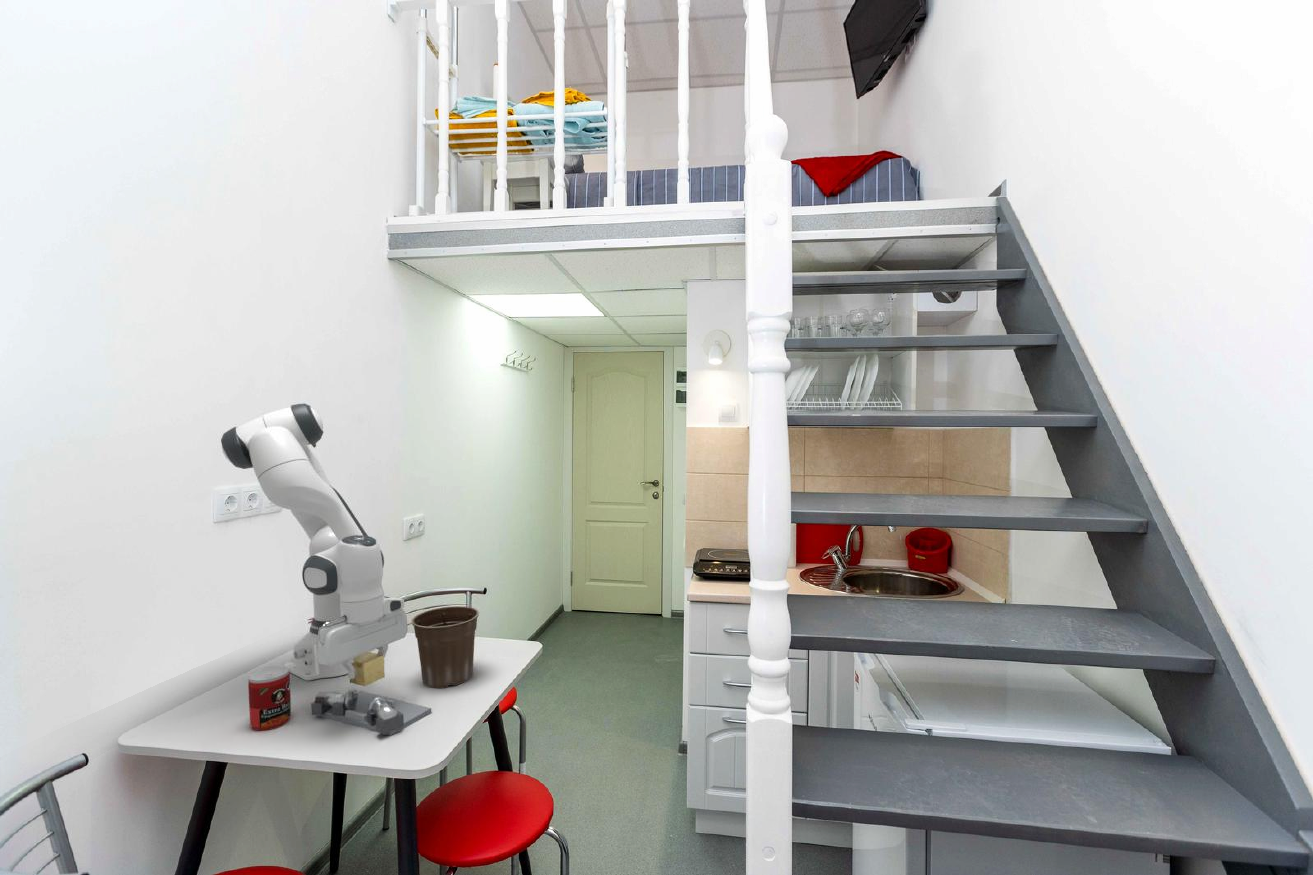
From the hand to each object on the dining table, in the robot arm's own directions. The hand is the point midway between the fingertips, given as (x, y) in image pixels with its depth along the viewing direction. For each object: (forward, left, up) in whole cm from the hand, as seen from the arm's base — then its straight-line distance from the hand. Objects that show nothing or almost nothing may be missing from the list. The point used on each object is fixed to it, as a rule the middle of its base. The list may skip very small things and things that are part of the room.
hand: (366, 671), depth 135 cm
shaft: (-8, -2, -10) cm, 13 cm away
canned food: (-18, -10, -10) cm, 23 cm away
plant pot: (+1, +23, -10) cm, 25 cm away
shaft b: (+8, -2, -10) cm, 13 cm away
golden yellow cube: (0, 0, -2) cm, 2 cm away
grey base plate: (0, +1, -10) cm, 10 cm away
